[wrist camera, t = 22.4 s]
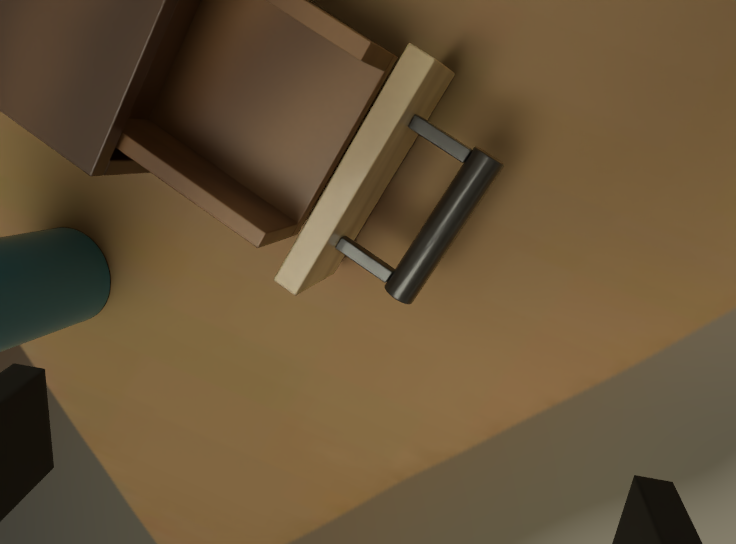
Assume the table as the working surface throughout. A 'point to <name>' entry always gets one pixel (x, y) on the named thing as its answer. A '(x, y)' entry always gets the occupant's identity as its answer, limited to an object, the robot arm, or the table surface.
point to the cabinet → (79, 72)
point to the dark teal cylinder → (49, 283)
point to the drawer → (297, 134)
